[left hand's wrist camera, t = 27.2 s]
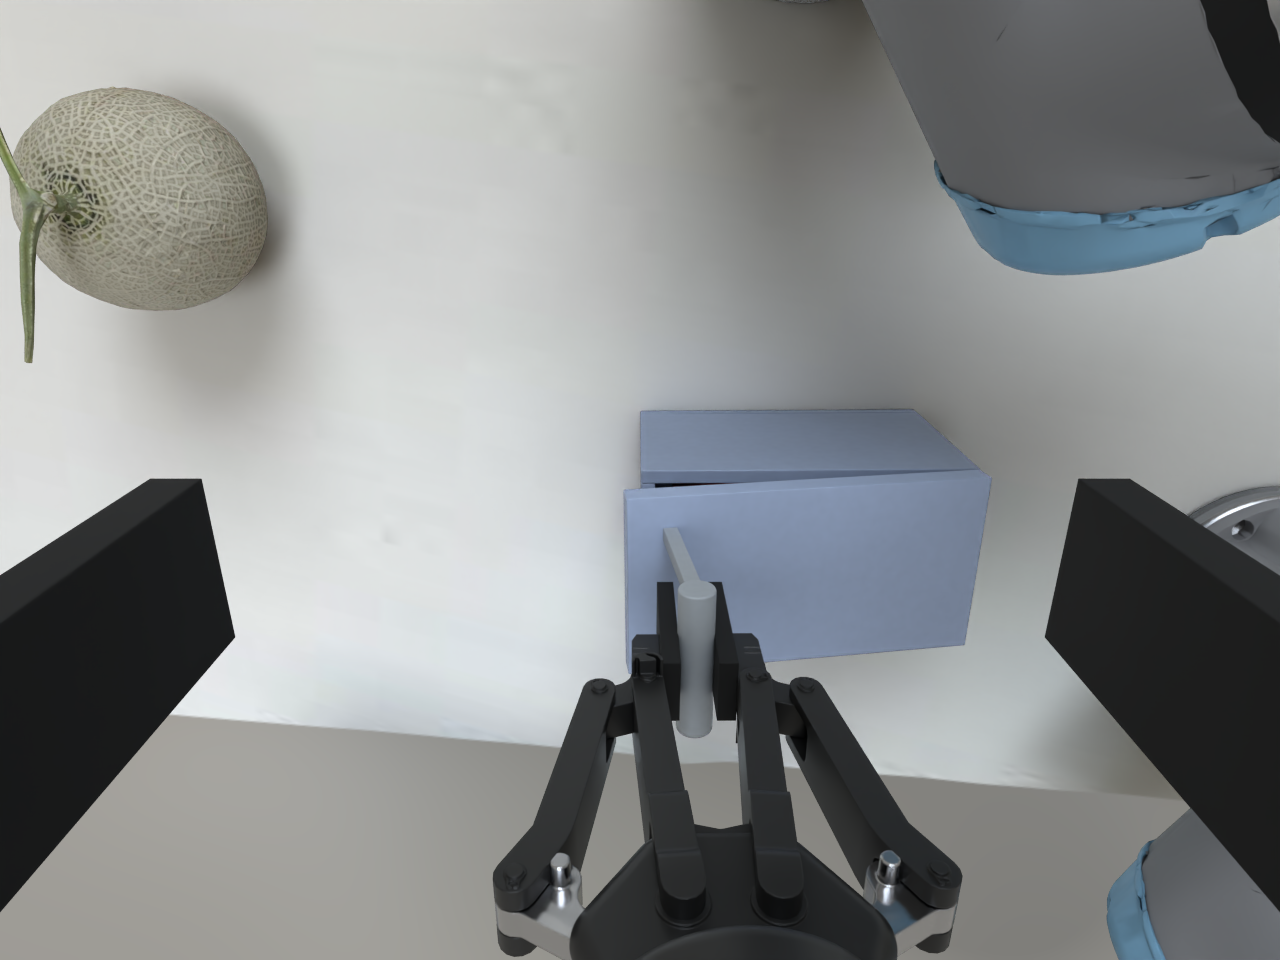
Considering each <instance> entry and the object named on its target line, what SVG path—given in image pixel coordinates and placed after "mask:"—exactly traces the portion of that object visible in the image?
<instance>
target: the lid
mask: <svg viewBox="0 0 1280 960" xmlns="http://www.w3.org/2000/svg"><path fill="white" fill-rule="evenodd" d="M991 480H992V478H991V477H990V476H988V475H987V474H985V473H984V472H982V471H981V470H962V471H944V472H927V473H909V474H892V475H874V476H857V477H839V478H822V479H804V480H787V481H769V482H752V483H734V484H717V485H699V486H682V487H664V488H647V489H629V490H624V556H625V628H626V663H627V668H628V673H629V674H632V640H633V638H634V637H635V636H636V634H656V617H657V582H673V586H674V596H675V606H676V617H677V634H678V638H679V648H680V659H681V682H680V721H676V728H677V730H678V731H679V732H680V733H681V734H682V735H684V736H686V737H690V738H700V737H704V736H706V735H707V734H709V732H710V731H711V729H712V715H713V670H714V644H715V624H716V594H717V590H716V588H715V586H714V585H713V584H711V583H709V582H722V584H723V589H724V594H725V599H726V604H727V608H728V613H729V618H730V623H731V627H732V632H733V633H752V634H753V635H754V636H755V637H756V638H757V639H758V641H759V644H760V648H761V652H762V656H763V660H764V662H774V661H785V660H797V659H809V658H820V657H832V656H843V655H855V654H867V653H878V652H890V651H901V650H913V649H925V648H936V647H948V646H959V645H965V639H966V632H967V626H968V620H969V614H970V608H971V602H972V596H973V590H974V584H975V578H976V572H977V566H978V559H979V553H980V547H981V541H982V535H983V529H984V523H985V517H986V511H987V505H988V499H989V493H990V487H991Z"/></svg>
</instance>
